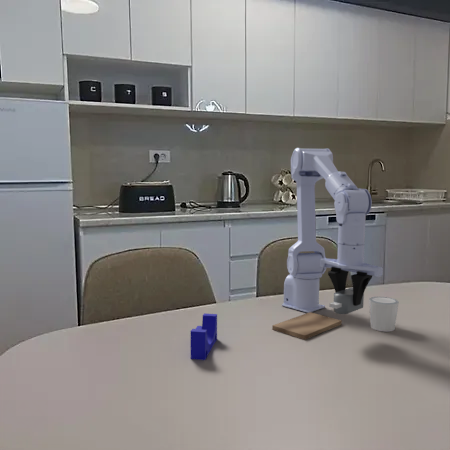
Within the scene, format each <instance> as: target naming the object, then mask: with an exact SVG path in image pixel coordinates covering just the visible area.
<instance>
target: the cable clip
mask: <svg viewBox="0 0 450 450" xmlns="http://www.w3.org/2000/svg"><path fill="white" fill-rule="evenodd" d="M217 340H218V314H217V313H203V314H202V323H201V325H197V326H196V327H195V328H192V329H191V330H190V360H199V361H206V359H207V357H208V356H209V354H210V352H211V350H212V348H213V347H214V345H215V344H216V342H217Z"/></svg>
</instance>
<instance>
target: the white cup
mask: <svg viewBox="0 0 450 450" xmlns="http://www.w3.org/2000/svg"><path fill="white" fill-rule="evenodd" d="M368 302H369V317H370V318H369V319H370V320H369V321H370V328H371V329H372V330H374V331H378V332H385V333H386V332H390V333H391V332H393V331H395V328H396V324H397V323H396V322H397V317H398V310H399V300H398V299H396V298H392V297H388V296H373V297H369V300H368Z"/></svg>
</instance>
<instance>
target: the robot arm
mask: <svg viewBox="0 0 450 450" xmlns="http://www.w3.org/2000/svg"><path fill="white" fill-rule="evenodd" d="M290 175H291V180H293V181H295V182H296V207H297V208H296V212H297V213H296V214H297V215H296V216H297V241H296V242H295V243H294V244H292V245H291V246H290V247H289V248H288V252H287V255H288V256H287V259H286V268H287V272H288V273H289V274H287V276H286V277H285V279H284V283H283V303H282V304H281V306H282V307H286V308H289V309H294V310H296V311H301V312H304V313H309V312H312V313H314V312H316V311H319V310H321V309H324V308H326V305H324V304H320V302H319V301H320V278H323V275H324V274H325V272H326V270H327V268H328V269H330V270H328V272H327V276H328V277H329V278H330V281H331V283H332V285H333V288H334V291H335V292H334V293H336V292H339V291H342V290H345V289H347V288H346V285H347V280H348V275H349V273H355V274H351V275H350V279H351V284H352V288H353V305H354V306H357V305H360V304H361V300H362V297H363V294H364V295H365V290H366V289H367V287H368V284H369V283H370V281H371V279H372V278H373V277H374V278H380V277H382V276H383V272H384V271H383V270H384V269H383V266H378V265H374V264H370V263H366V262H365V259H364V258H365V241H366V240H365V238H366V237H365V235H366V216H367V215H368V214H369V213H370V212H371V209H372V204H373V202H372V196H371V193H370V192H369V190H368V189H366V188H361V187H359V188H358V187H357V185H356V184H355V182H354V181H352V179H351V178H350V176H348V174H347V172H346V171H338V168H337V167H336V166H335V164H334V156H333V152H332V151H331V149H330V148H327V147H326V148H301V147H296V148H294V150H293V152H292V155H291V157H290ZM323 179H324V181H325V183H324V186H325V189H326V190H327V192H328V193H329V195H330V196H331V197H332V199H333V200H334V202H333V203H334V205H333V206H334V210H335V214H336V215H335V217H336V218H335V219H336V222H337V223H338V229H337V230H338V232H337V233H338V235H337V258H327V257H326V253H325V251H326V250H325V247H324V246H322V245H321V244H320V243H319V242H318V241H317V231H316V226H317V225H316V224H317V223H316V220H317V219H316V190H315V189H316V188H315V186H316V183H317V182H318V181H320V180H323Z"/></svg>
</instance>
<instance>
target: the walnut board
mask: <svg viewBox="0 0 450 450" xmlns="http://www.w3.org/2000/svg"><path fill="white" fill-rule="evenodd" d="M342 323H343V321H342V320H341V319H338V318H334V317H331V316H326V315H322V314H319V313H315V312H309V313H307V312H305V313H303V314H301V315H298V316H296V317H292V318H290V319H287V320H284V321H282V322H278V323H275V324H273V325H272V327H271V329H272V330H273V331H277V332H279V333H282V334H285V335H289V336H292V337H294V338H298V339H301V340H305V341H306V340H307V339H309V338H313V337H315V336H317V335H320V334H322V333H324V332H326V331H330V330H331V329H334V328H337V327H339V326H341V325H342Z"/></svg>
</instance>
